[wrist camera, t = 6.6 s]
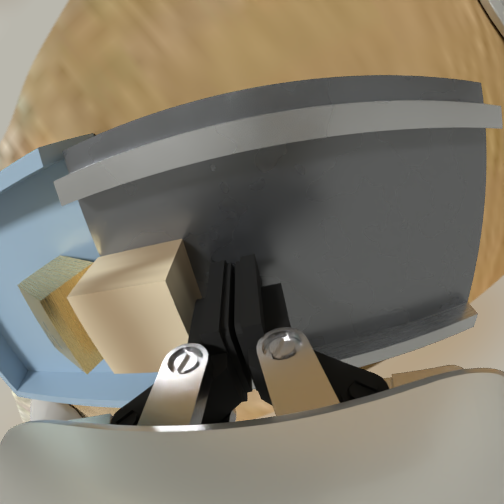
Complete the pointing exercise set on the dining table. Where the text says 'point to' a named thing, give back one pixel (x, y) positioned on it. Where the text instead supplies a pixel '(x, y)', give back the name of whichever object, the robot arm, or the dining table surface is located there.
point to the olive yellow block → (61, 309)
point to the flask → (52, 411)
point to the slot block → (310, 200)
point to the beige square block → (137, 305)
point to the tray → (29, 261)
